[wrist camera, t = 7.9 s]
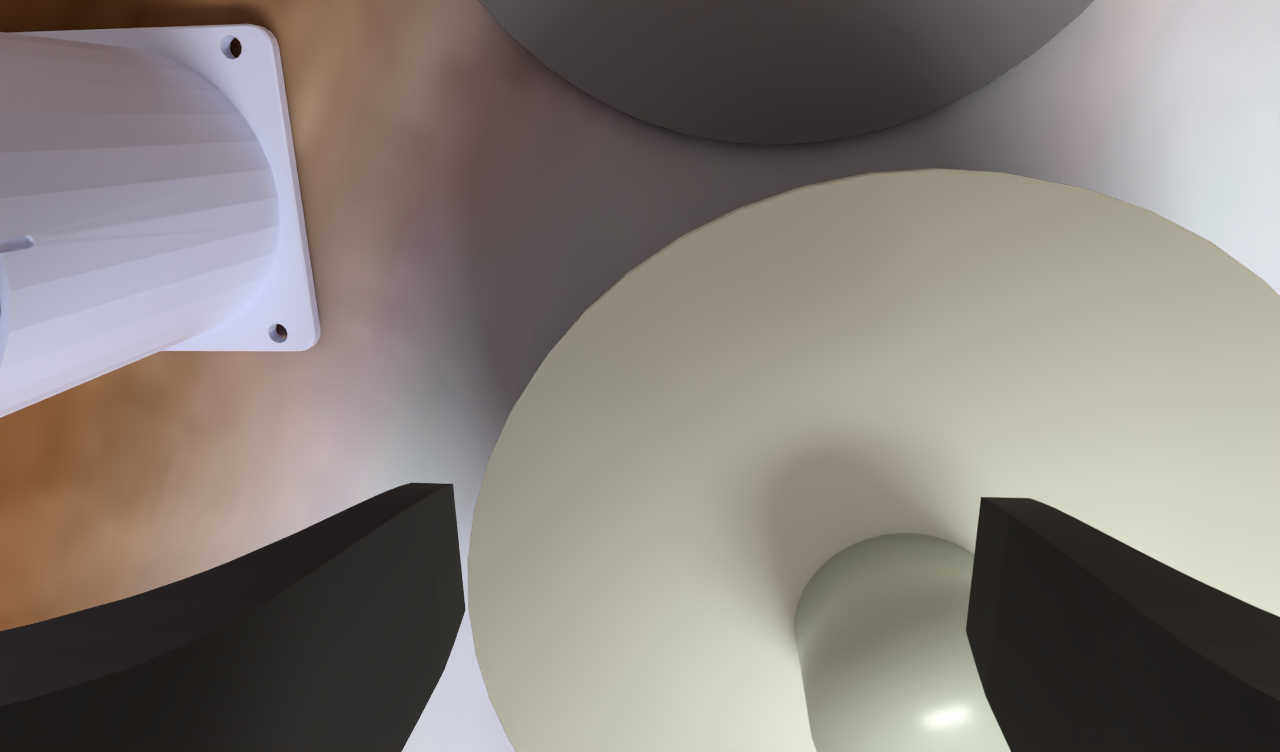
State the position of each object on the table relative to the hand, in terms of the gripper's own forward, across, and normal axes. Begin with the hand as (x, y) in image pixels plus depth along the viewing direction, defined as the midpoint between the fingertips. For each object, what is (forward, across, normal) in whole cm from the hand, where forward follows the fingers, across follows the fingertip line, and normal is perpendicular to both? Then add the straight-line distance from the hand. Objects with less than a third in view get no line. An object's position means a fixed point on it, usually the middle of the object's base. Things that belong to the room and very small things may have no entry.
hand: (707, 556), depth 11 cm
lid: (+5, -4, +4) cm, 7 cm away
